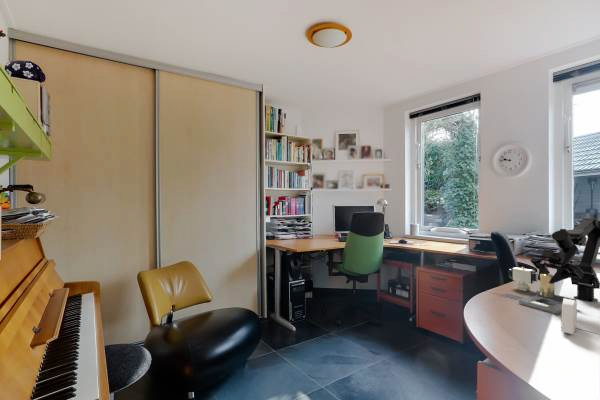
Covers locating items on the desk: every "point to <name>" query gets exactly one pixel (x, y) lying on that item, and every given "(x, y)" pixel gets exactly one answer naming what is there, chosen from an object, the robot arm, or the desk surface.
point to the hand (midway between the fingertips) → (544, 281)
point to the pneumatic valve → (523, 277)
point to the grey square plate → (512, 296)
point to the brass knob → (546, 285)
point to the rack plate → (536, 302)
